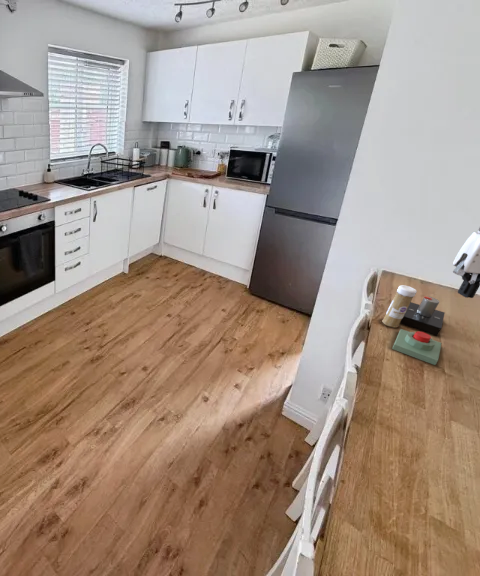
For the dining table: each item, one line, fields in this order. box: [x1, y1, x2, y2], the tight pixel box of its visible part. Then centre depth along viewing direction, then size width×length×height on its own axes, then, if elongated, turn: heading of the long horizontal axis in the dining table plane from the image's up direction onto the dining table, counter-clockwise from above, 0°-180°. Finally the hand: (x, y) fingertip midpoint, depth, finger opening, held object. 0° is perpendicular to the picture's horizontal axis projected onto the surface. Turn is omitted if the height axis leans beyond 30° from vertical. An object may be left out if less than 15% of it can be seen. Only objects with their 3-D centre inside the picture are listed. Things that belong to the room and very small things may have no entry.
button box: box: [392, 328, 442, 366], centre depth 108 cm, size 12×10×4 cm
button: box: [413, 330, 432, 343], centre depth 107 cm, size 4×4×2 cm
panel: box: [399, 301, 446, 337], centre depth 122 cm, size 14×10×3 cm
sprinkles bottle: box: [381, 284, 418, 328], centre depth 117 cm, size 5×5×14 cm
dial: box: [416, 295, 440, 317], centre depth 120 cm, size 4×4×6 cm
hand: (464, 295), depth 99 cm, fingers closed
